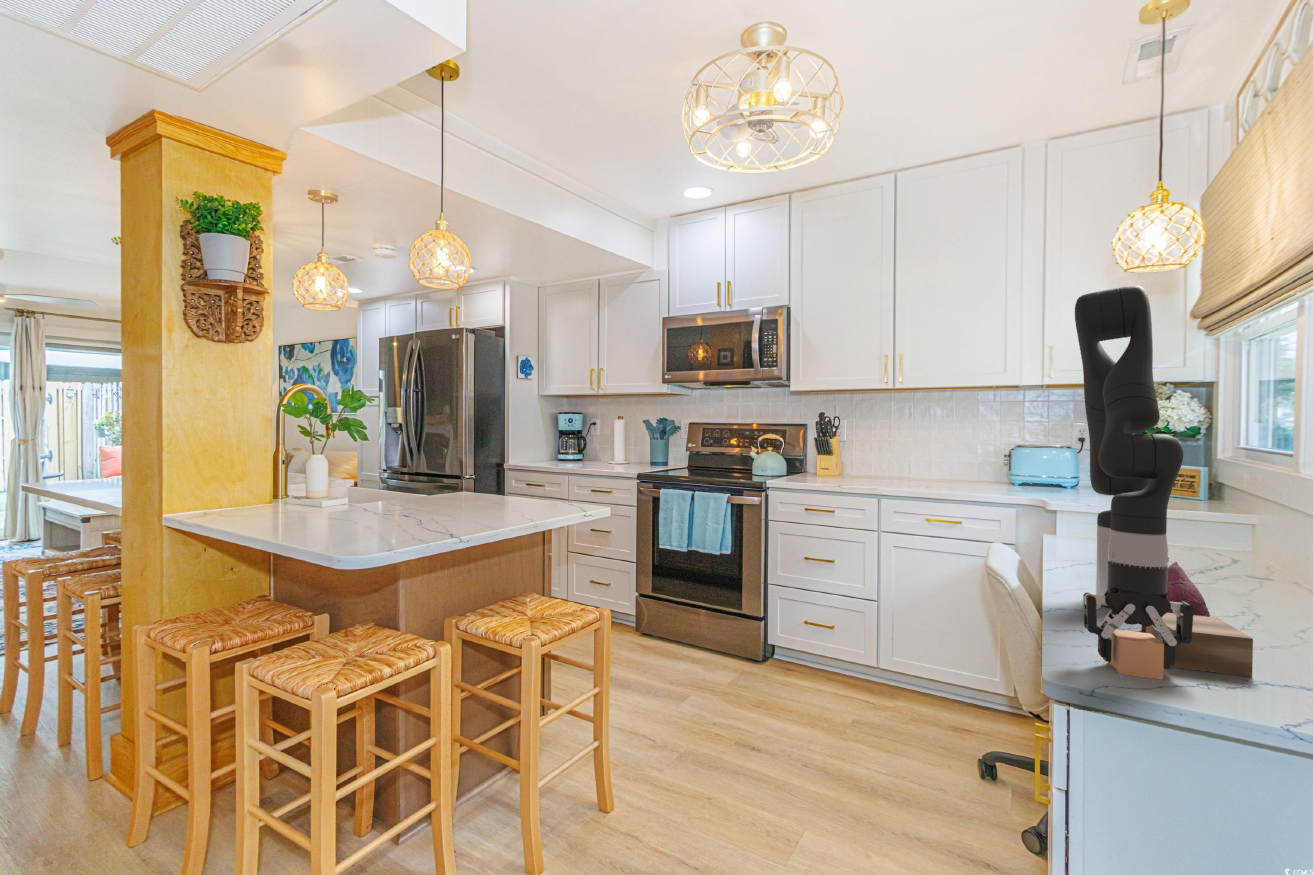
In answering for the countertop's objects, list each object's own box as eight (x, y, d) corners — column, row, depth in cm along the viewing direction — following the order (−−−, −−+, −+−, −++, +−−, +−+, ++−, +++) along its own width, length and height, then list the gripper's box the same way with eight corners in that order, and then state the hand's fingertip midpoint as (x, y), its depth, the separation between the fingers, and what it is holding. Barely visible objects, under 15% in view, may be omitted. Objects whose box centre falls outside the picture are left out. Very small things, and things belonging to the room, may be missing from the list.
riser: (1145, 643, 111) (1146, 610, 111) (1216, 652, 107) (1217, 617, 107) (1172, 667, 100) (1172, 629, 99) (1252, 677, 96) (1252, 638, 96)
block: (1109, 662, 102) (1109, 628, 102) (1150, 667, 100) (1150, 633, 100) (1119, 674, 97) (1120, 639, 97) (1163, 679, 94) (1163, 644, 94)
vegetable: (1144, 641, 122) (1134, 564, 126) (1215, 646, 115) (1201, 564, 119) (1141, 641, 114) (1130, 558, 118) (1216, 646, 108) (1202, 559, 112)
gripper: (1184, 559, 99) (1181, 662, 99) (1077, 551, 104) (1075, 649, 104) (1204, 569, 92) (1202, 679, 92) (1089, 560, 97) (1087, 664, 97)
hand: (1135, 663), depth 98 cm, fingers open, 7 cm apart
